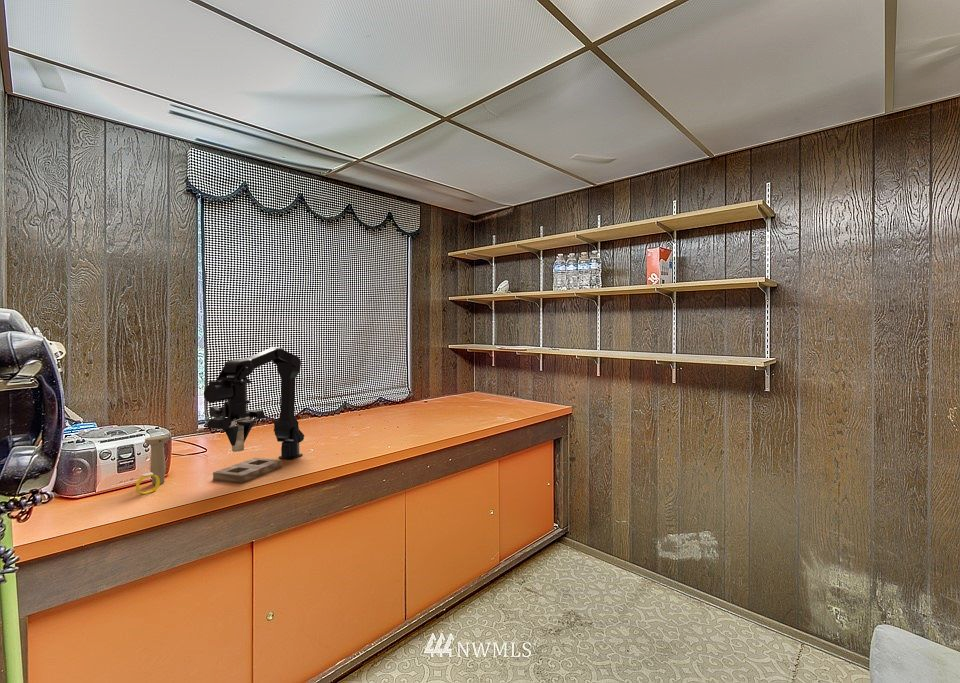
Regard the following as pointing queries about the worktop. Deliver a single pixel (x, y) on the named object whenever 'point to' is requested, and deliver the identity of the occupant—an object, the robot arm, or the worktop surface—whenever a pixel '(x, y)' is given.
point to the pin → (239, 440)
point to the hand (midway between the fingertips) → (237, 444)
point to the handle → (157, 457)
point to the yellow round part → (146, 477)
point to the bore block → (247, 470)
